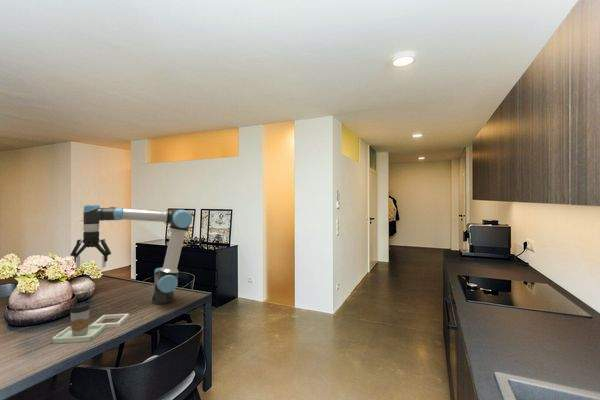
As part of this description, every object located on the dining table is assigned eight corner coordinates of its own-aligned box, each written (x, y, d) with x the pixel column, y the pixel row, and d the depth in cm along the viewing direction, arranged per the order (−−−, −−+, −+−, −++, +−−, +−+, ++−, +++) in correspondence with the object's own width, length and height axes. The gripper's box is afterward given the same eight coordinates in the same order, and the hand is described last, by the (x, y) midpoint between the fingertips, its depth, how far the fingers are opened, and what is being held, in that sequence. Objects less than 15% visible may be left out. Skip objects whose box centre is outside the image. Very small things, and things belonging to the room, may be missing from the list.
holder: (129, 316, 172) (129, 313, 172) (118, 327, 158) (118, 323, 158) (103, 318, 169) (103, 314, 169) (90, 328, 156) (90, 325, 156)
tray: (105, 328, 156) (105, 324, 156) (91, 341, 142) (91, 336, 142) (68, 330, 153) (68, 326, 153) (50, 343, 139) (50, 339, 139)
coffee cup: (67, 339, 142) (67, 309, 142) (72, 332, 150) (72, 304, 150) (88, 336, 146) (88, 306, 146) (91, 329, 153) (91, 301, 153)
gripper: (117, 230, 172) (117, 265, 172) (71, 230, 168) (70, 266, 168) (112, 231, 165) (111, 268, 165) (63, 232, 160) (62, 269, 160)
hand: (91, 267), depth 166 cm, fingers open, 13 cm apart
